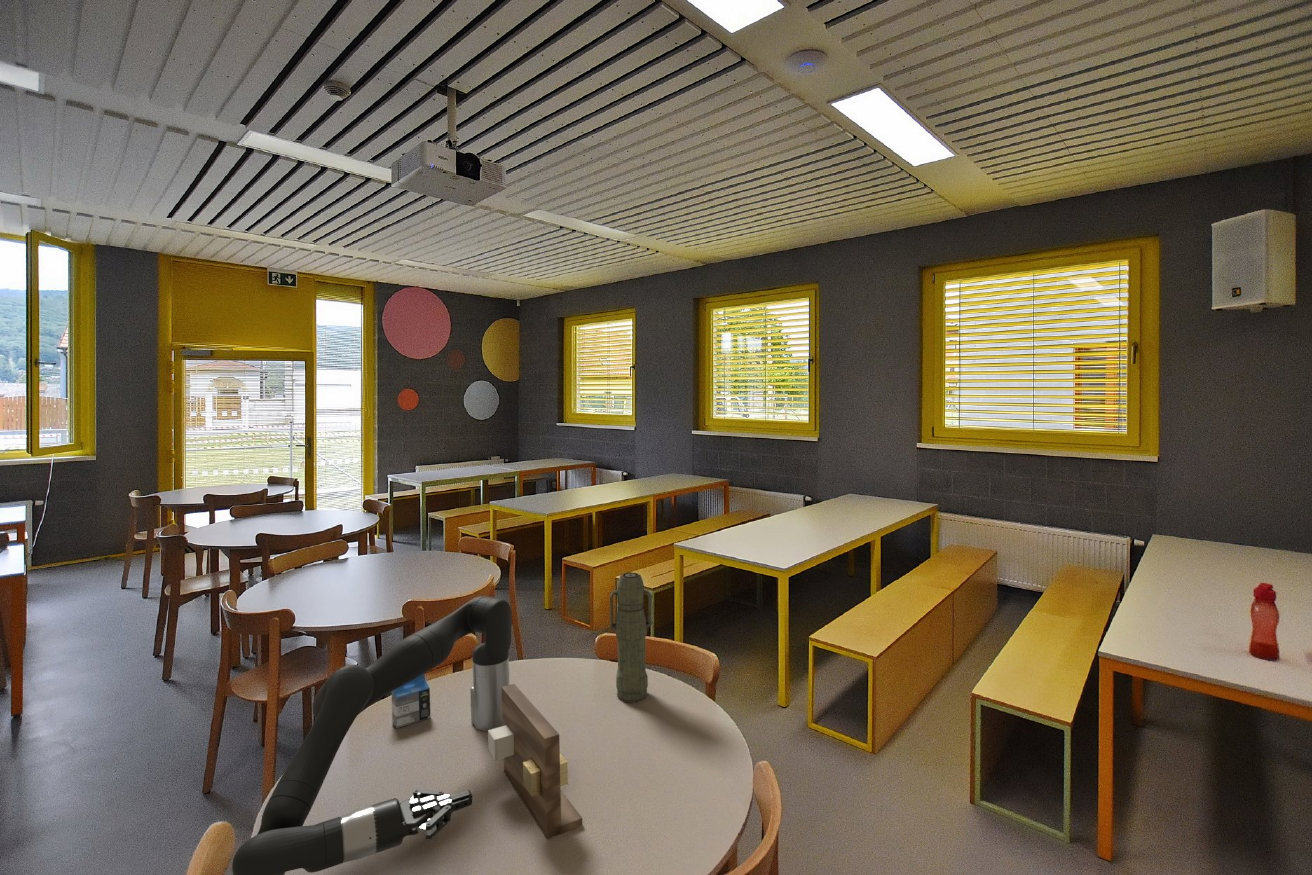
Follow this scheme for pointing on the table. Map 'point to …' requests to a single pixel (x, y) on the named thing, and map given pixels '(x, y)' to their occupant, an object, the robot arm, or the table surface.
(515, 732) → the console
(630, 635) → the thermos
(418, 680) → the label tape cartridge
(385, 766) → the table surface
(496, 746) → the key white
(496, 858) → the table surface
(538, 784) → the yellow rectangular block
